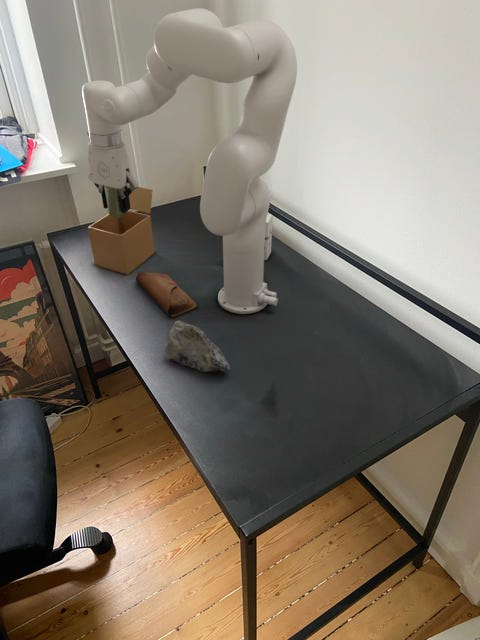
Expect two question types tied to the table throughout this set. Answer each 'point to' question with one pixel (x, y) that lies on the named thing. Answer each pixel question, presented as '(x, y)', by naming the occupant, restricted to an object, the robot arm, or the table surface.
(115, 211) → the tea tin
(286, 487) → the table surface
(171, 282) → the sunglasses case
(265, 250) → the ink box
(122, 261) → the carton
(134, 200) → the flap
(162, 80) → the robot arm
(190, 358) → the mineral rock
